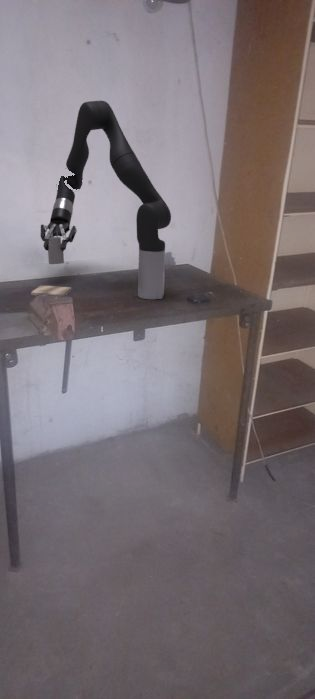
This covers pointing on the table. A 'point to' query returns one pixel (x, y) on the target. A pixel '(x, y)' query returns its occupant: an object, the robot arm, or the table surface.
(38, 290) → the birch board
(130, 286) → the table surface
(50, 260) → the power adapter
